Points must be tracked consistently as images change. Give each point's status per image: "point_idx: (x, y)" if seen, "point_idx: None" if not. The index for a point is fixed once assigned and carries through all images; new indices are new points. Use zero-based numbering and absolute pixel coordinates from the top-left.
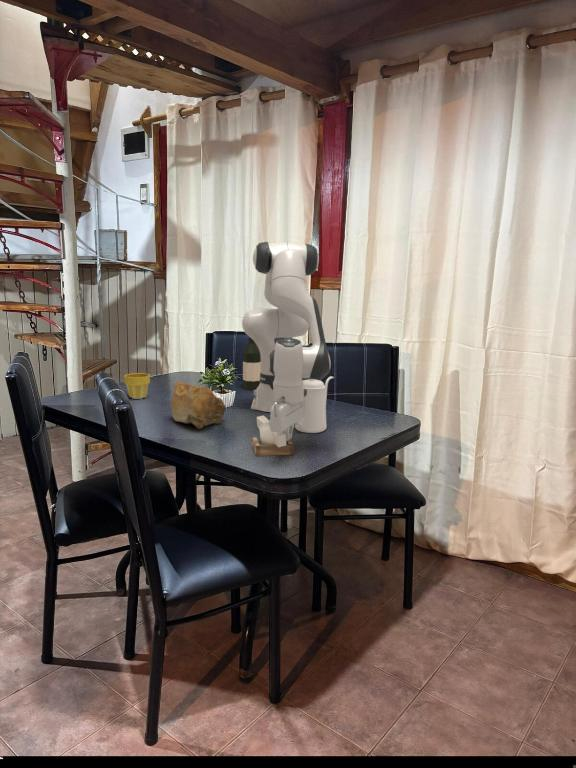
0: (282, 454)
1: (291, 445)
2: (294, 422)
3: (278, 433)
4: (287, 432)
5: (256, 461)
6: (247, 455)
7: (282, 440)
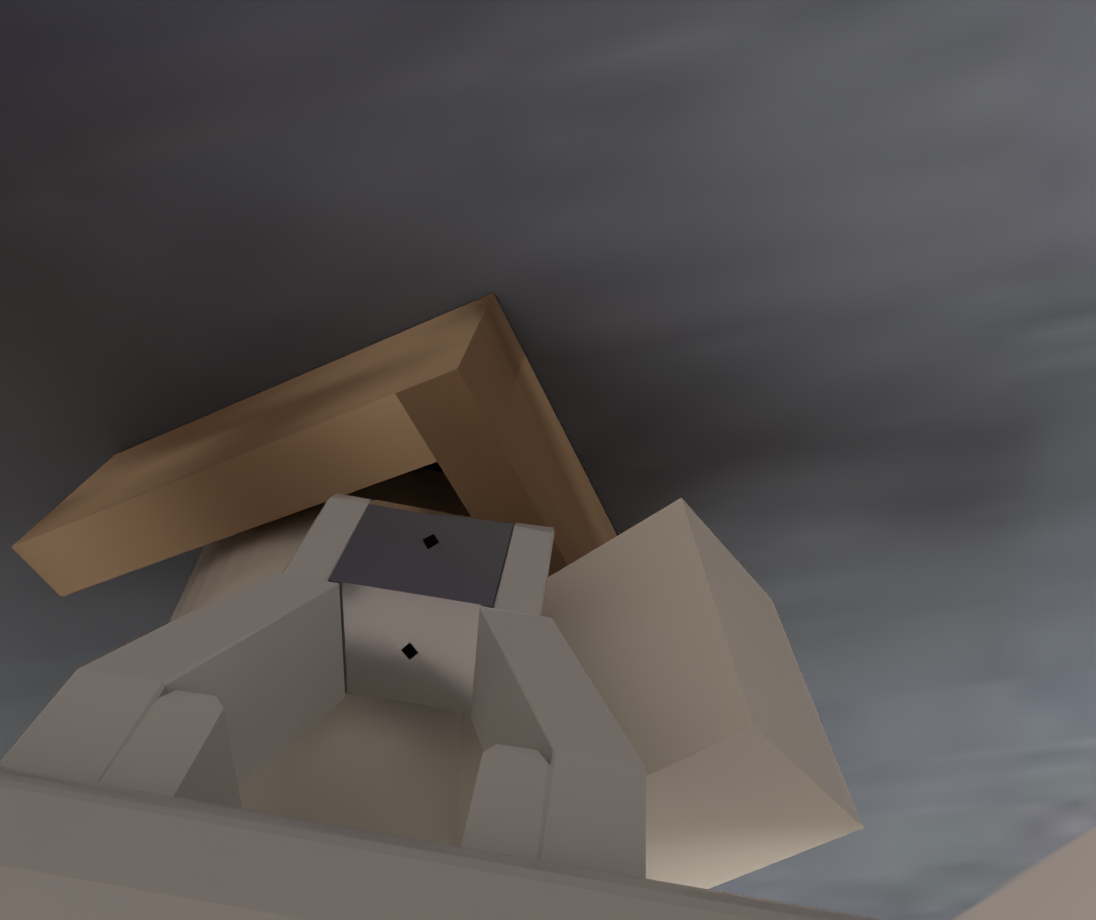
0: (572, 453)
1: (483, 402)
2: (110, 841)
3: (675, 845)
4: (592, 710)
5: (919, 686)
6: None
7: (758, 645)
